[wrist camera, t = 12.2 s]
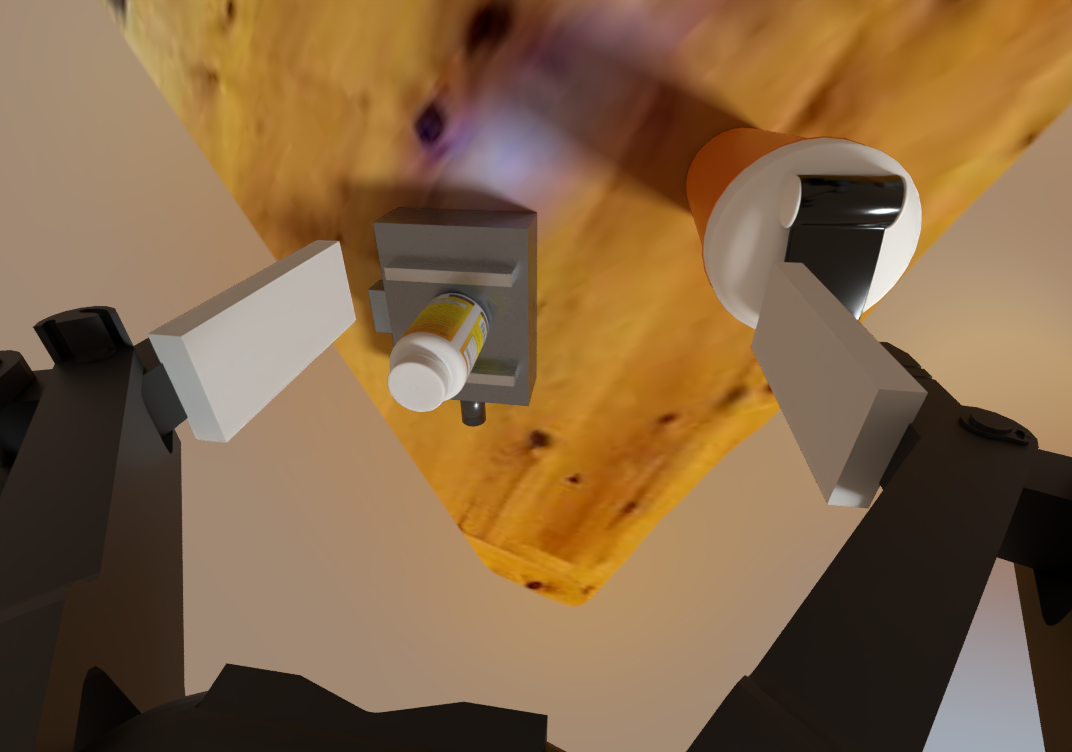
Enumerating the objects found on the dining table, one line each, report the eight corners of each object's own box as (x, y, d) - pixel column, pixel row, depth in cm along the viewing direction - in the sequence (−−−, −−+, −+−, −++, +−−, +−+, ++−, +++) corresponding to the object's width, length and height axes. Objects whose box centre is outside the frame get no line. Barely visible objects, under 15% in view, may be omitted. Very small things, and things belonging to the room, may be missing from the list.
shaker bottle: (674, 245, 40) (715, 370, 23) (670, 125, 35) (718, 171, 19) (793, 230, 38) (931, 354, 21) (804, 101, 34) (990, 128, 17)
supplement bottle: (412, 311, 41) (357, 374, 32) (462, 278, 39) (417, 336, 30) (453, 361, 43) (413, 433, 34) (503, 332, 41) (472, 401, 32)
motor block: (375, 206, 42) (339, 226, 36) (536, 212, 40) (524, 234, 35) (407, 398, 52) (382, 436, 47) (536, 409, 51) (526, 450, 45)
